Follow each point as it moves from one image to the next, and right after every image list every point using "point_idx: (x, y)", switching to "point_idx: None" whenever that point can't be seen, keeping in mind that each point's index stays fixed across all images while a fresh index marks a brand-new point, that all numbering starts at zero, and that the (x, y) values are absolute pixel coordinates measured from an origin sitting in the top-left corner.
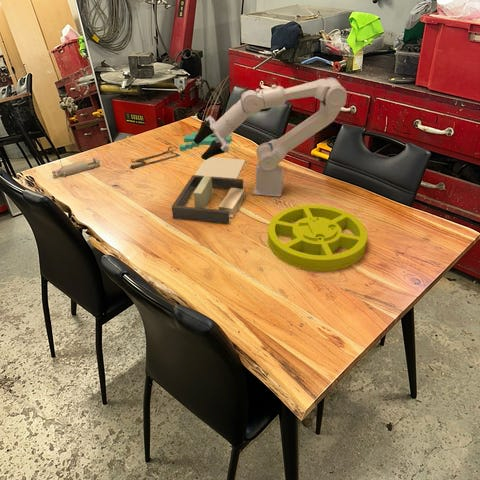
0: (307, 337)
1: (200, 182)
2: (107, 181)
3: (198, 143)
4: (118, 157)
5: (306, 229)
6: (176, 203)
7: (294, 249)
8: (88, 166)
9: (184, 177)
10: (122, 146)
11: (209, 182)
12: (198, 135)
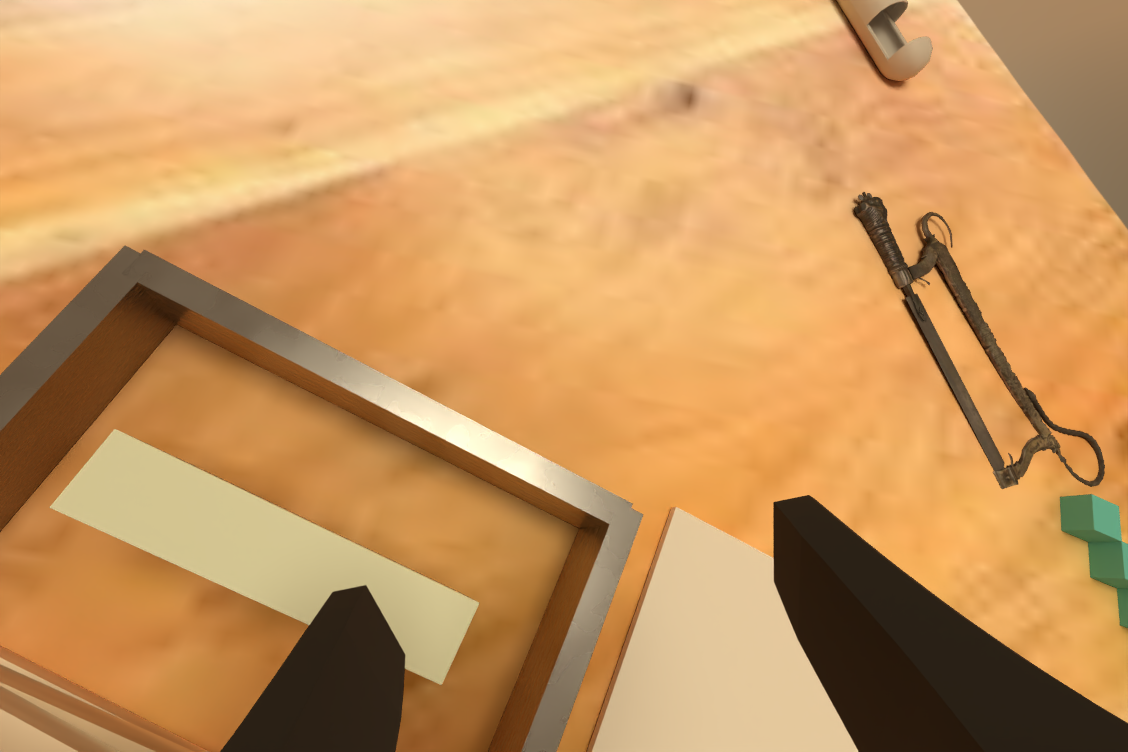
0: None
1: (334, 539)
2: (738, 77)
3: (781, 599)
4: (969, 174)
5: None
6: (175, 293)
7: None
8: (883, 42)
9: (727, 469)
10: (1074, 214)
11: None
12: (879, 629)
